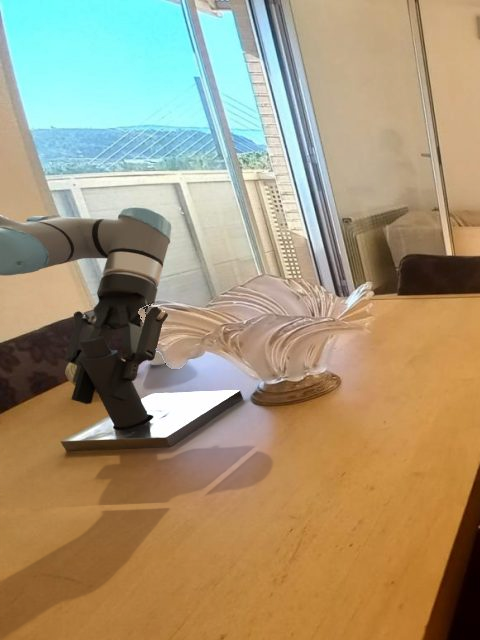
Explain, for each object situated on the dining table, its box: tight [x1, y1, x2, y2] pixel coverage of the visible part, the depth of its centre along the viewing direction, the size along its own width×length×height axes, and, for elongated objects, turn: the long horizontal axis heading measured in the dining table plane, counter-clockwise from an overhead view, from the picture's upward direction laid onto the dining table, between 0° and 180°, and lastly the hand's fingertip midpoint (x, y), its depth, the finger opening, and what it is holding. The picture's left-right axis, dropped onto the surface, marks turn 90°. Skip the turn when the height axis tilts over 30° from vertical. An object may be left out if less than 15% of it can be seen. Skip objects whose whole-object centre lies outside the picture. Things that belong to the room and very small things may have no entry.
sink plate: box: [60, 389, 244, 452], centre depth 90 cm, size 18×18×2 cm
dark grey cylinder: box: [79, 336, 148, 427], centre depth 84 cm, size 5×5×16 cm
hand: (99, 399), depth 81 cm, fingers closed on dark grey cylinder, 5 cm apart
